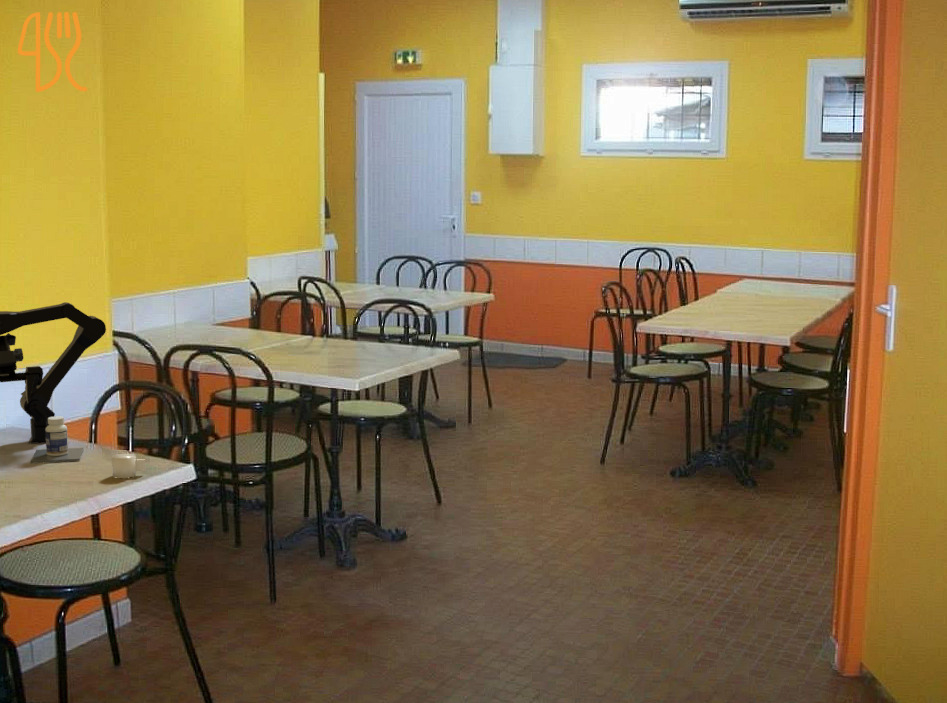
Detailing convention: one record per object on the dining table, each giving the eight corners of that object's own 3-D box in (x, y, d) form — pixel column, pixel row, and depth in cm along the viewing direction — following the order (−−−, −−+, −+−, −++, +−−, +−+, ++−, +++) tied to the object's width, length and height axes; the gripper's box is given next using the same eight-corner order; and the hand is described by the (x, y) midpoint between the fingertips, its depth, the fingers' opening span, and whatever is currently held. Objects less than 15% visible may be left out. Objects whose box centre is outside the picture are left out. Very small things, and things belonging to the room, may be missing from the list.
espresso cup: (113, 473, 293) (112, 454, 292) (145, 472, 295) (145, 452, 294) (111, 479, 288) (111, 459, 287) (144, 477, 290) (144, 458, 289)
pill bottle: (47, 452, 311) (45, 416, 309) (68, 451, 312) (67, 415, 311) (46, 457, 306) (44, 420, 304) (67, 455, 307) (66, 419, 306)
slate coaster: (36, 451, 313) (36, 449, 313) (83, 449, 316) (83, 447, 316) (30, 463, 302) (30, 461, 302) (79, 460, 305) (79, 458, 305)
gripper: (-36, 341, 305) (-26, 390, 297) (40, 336, 314) (51, 383, 307) (-39, 366, 313) (-29, 414, 305) (35, 360, 322) (46, 407, 315)
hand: (10, 404), depth 308 cm, fingers open, 9 cm apart
